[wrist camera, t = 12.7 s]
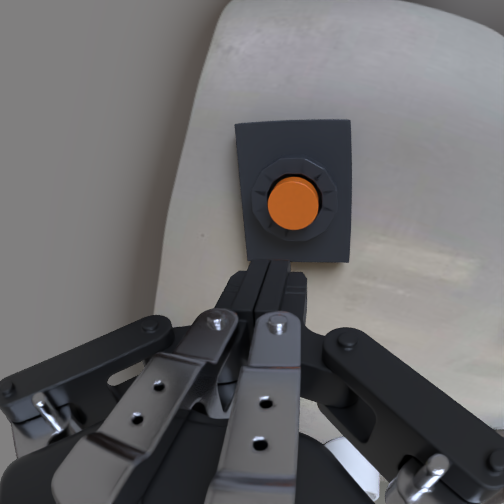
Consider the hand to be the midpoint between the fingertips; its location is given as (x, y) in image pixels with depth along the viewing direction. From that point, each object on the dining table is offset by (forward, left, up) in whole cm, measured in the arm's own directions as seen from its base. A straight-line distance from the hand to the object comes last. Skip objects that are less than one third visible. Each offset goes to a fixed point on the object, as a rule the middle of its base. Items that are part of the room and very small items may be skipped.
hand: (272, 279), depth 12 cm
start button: (0, 0, -12) cm, 12 cm away
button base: (0, 0, -16) cm, 16 cm away
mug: (+44, +9, -16) cm, 48 cm away
